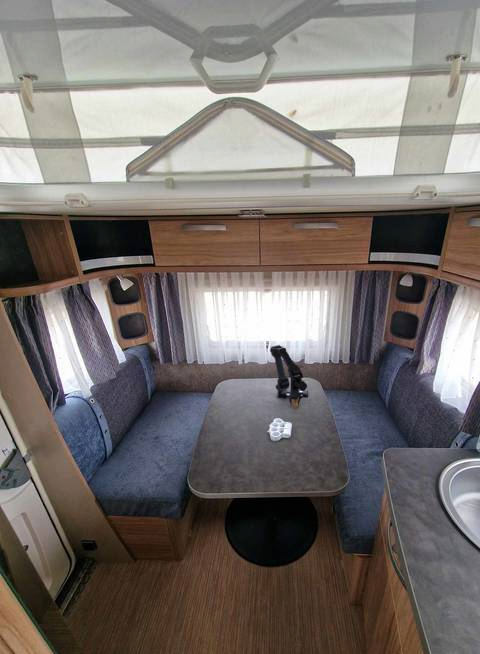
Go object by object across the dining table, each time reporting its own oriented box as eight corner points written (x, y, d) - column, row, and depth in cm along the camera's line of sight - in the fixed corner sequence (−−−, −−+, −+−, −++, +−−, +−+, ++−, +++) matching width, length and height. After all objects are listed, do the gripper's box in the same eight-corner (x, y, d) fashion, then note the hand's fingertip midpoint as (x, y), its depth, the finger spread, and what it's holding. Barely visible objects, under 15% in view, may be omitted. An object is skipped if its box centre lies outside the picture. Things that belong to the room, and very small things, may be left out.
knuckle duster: (289, 442, 167) (265, 440, 169) (292, 423, 183) (269, 421, 185) (289, 437, 165) (265, 435, 167) (292, 419, 181) (269, 417, 184)
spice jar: (291, 407, 199) (291, 397, 196) (291, 403, 203) (291, 394, 200) (297, 407, 198) (297, 398, 195) (298, 404, 202) (298, 394, 199)
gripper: (280, 389, 187) (280, 409, 194) (308, 391, 185) (307, 410, 191) (281, 381, 197) (282, 400, 204) (308, 382, 195) (308, 401, 201)
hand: (294, 403), depth 200 cm, fingers closed on spice jar, 4 cm apart
